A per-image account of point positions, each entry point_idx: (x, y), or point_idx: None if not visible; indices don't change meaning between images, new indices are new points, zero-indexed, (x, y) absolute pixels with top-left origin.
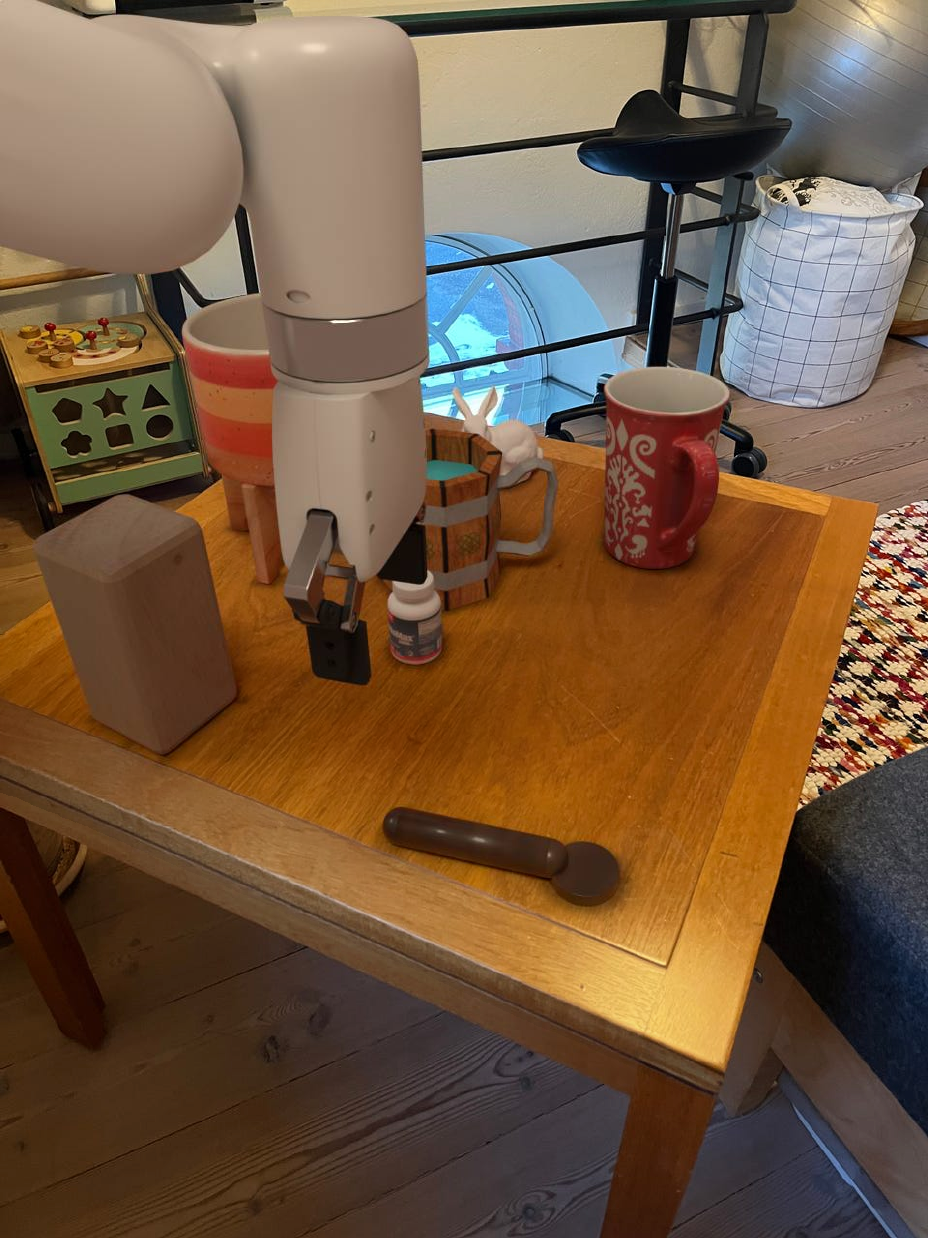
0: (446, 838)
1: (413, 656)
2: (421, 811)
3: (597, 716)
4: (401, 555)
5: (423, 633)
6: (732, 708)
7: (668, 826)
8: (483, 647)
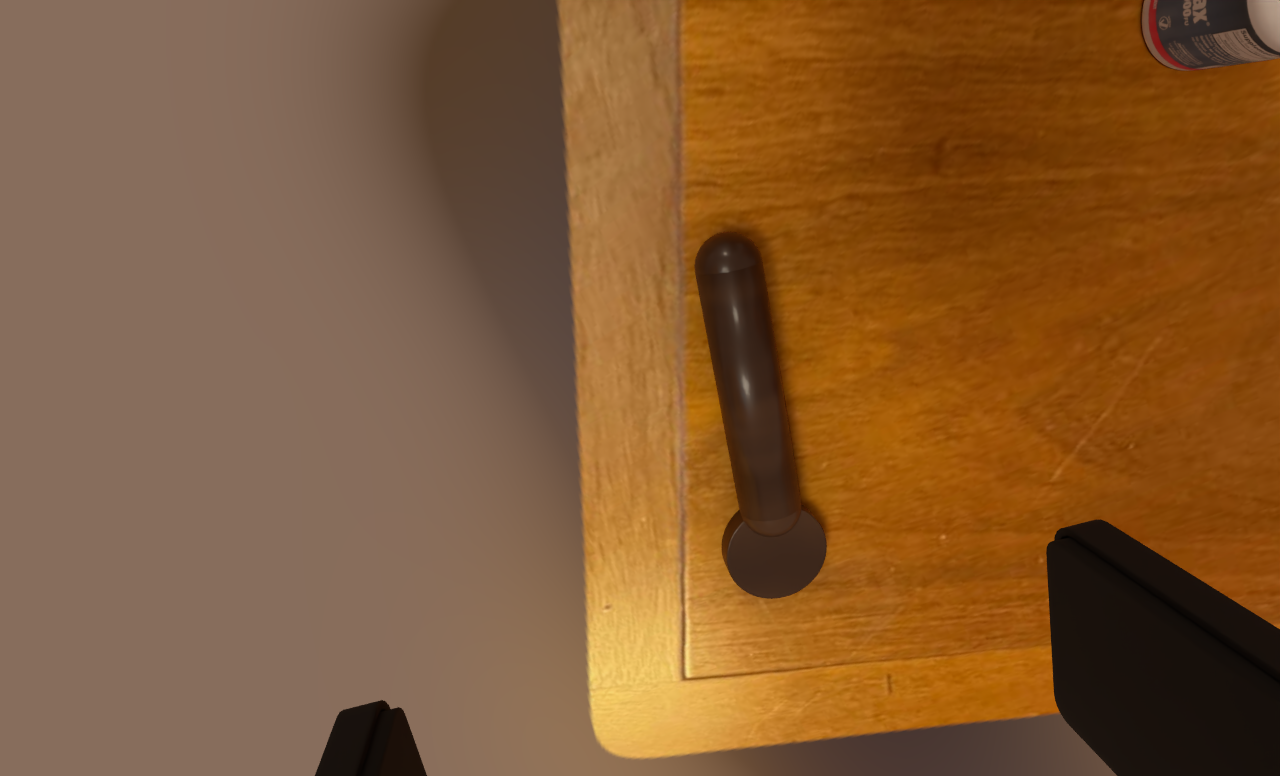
0: (726, 364)
1: (1159, 30)
2: (759, 299)
3: (1099, 425)
4: (1156, 736)
5: (1221, 42)
6: None
7: (907, 603)
8: (1231, 146)
